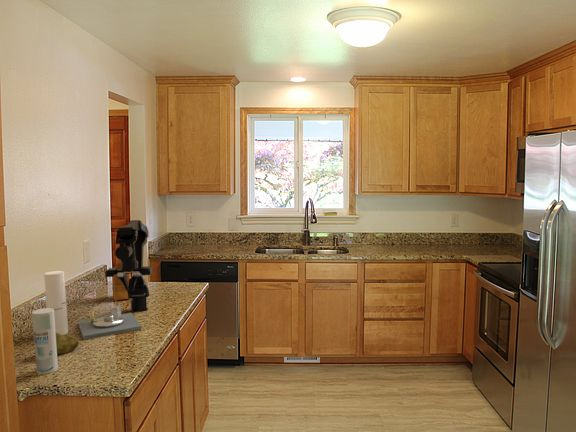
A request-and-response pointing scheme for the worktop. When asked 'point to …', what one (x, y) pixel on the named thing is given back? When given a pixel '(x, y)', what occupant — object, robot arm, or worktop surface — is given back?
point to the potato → (65, 343)
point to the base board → (93, 332)
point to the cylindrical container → (57, 299)
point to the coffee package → (119, 285)
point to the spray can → (45, 340)
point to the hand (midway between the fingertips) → (130, 291)
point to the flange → (110, 318)
